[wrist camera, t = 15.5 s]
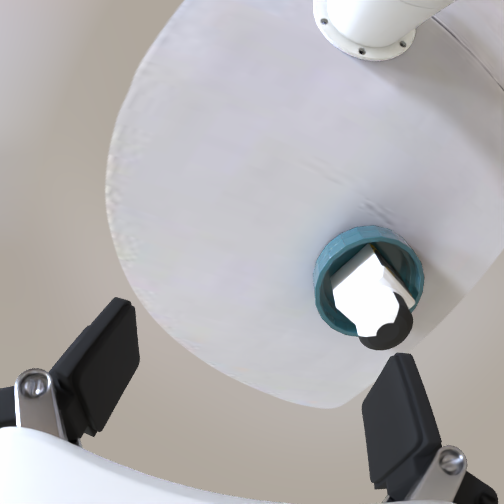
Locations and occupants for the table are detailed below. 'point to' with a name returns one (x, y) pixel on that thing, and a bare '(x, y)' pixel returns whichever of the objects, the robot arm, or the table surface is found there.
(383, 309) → the medicine bottle
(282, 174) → the table surface
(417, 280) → the dish
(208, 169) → the table surface
